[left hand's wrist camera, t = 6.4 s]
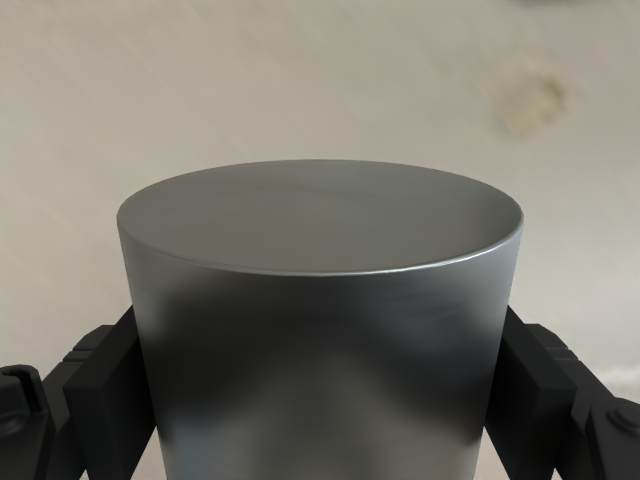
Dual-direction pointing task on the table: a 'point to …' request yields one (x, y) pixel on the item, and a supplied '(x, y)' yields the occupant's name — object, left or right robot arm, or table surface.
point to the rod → (320, 317)
